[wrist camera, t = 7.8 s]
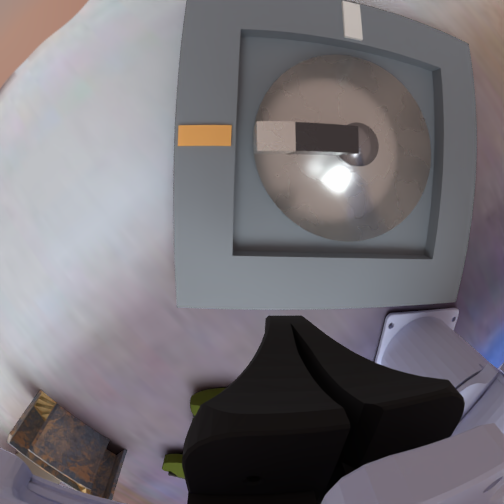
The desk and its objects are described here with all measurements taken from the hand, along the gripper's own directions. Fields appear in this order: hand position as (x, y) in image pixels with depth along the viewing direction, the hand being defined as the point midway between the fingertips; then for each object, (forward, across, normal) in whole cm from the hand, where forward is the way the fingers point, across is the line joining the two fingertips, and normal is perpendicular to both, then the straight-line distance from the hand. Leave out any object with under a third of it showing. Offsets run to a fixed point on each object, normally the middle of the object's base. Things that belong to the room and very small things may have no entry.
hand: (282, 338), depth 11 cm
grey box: (+11, +19, +19) cm, 29 cm away
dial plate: (+10, -5, -8) cm, 14 cm away
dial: (+9, -5, -8) cm, 13 cm away
